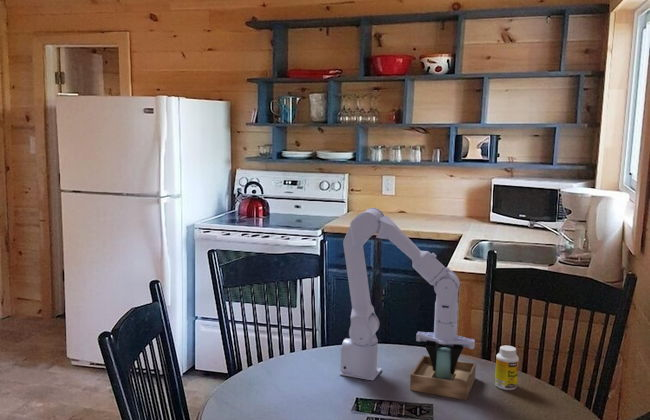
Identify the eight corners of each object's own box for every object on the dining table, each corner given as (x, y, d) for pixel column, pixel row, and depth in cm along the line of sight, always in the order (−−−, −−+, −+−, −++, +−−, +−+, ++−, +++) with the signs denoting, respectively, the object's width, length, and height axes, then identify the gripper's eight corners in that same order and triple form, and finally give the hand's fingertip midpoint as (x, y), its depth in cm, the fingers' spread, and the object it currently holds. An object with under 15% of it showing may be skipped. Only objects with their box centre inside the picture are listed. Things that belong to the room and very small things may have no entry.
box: (410, 389, 149) (410, 374, 148) (422, 369, 162) (423, 355, 161) (466, 399, 144) (467, 384, 143) (475, 378, 156) (475, 363, 156)
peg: (433, 381, 151) (434, 351, 150) (438, 375, 155) (439, 346, 154) (448, 384, 150) (449, 354, 148) (453, 378, 153) (454, 349, 152)
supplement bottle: (507, 392, 148) (509, 353, 146) (489, 384, 152) (491, 346, 151) (521, 387, 151) (524, 349, 150) (504, 380, 155) (506, 342, 154)
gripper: (414, 320, 149) (412, 372, 151) (472, 328, 144) (470, 381, 146) (420, 312, 156) (418, 362, 158) (476, 320, 150) (474, 371, 152)
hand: (443, 371), depth 152 cm, fingers closed on peg, 4 cm apart
